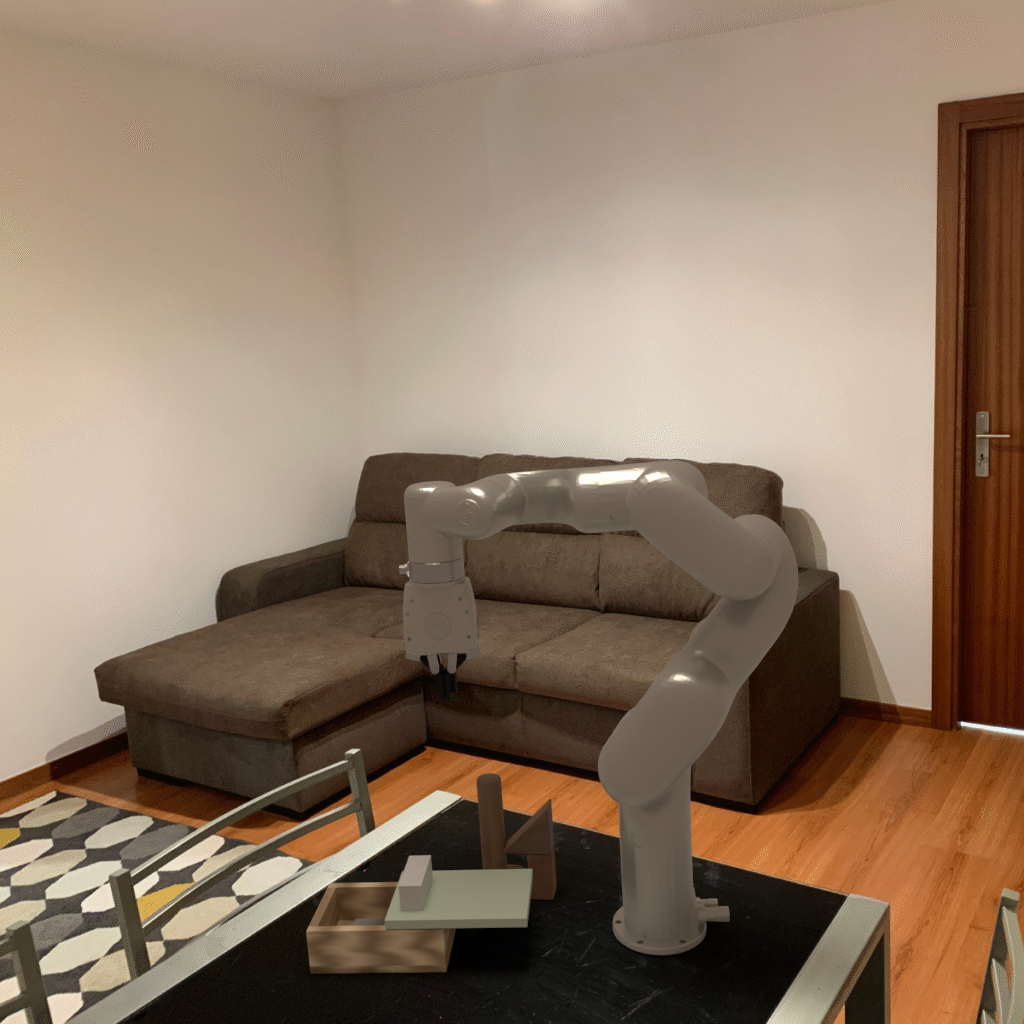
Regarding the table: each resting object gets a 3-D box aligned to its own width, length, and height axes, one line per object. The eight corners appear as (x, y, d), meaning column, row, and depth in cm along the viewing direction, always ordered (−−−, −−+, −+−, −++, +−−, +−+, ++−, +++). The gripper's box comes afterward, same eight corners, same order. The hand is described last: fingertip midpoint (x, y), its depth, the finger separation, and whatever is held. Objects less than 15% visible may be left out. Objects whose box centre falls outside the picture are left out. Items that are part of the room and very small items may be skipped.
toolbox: (458, 920, 143) (455, 880, 142) (446, 972, 131) (442, 929, 130) (333, 922, 145) (329, 883, 144) (310, 973, 133) (306, 931, 132)
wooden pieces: (553, 901, 146) (546, 784, 144) (481, 898, 148) (472, 782, 146) (557, 887, 150) (550, 773, 147) (486, 885, 152) (477, 772, 149)
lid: (532, 876, 141) (530, 845, 141) (527, 927, 129) (525, 893, 128) (402, 879, 143) (400, 848, 142) (385, 929, 131) (382, 895, 130)
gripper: (378, 579, 137) (389, 709, 140) (488, 574, 136) (497, 705, 139) (389, 567, 144) (399, 690, 147) (493, 562, 143) (502, 687, 146)
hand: (447, 697), depth 143 cm, fingers closed
